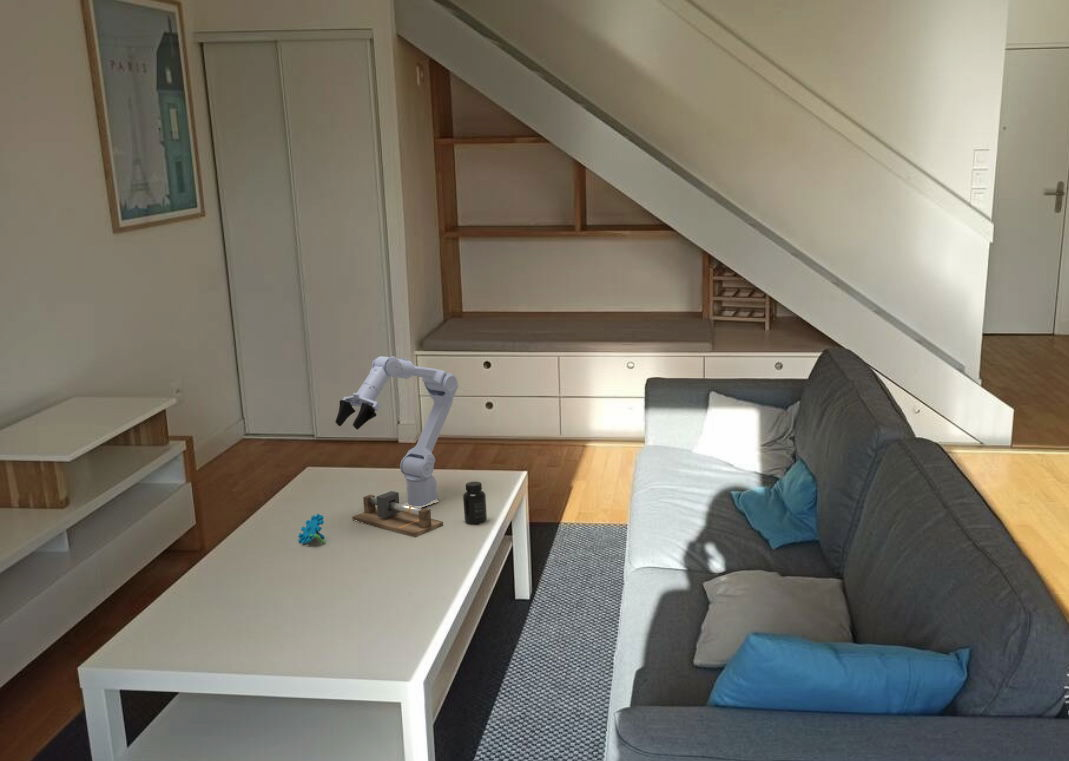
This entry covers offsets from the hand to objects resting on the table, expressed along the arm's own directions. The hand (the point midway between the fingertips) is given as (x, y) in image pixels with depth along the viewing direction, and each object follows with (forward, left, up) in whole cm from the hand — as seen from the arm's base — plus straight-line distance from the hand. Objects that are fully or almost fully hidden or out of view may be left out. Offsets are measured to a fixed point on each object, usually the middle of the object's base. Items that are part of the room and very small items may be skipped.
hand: (346, 425), depth 294 cm
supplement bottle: (-26, +26, -32) cm, 49 cm away
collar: (-12, +3, -30) cm, 33 cm away
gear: (+13, -3, -33) cm, 35 cm away
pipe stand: (-12, +7, -32) cm, 35 cm away
